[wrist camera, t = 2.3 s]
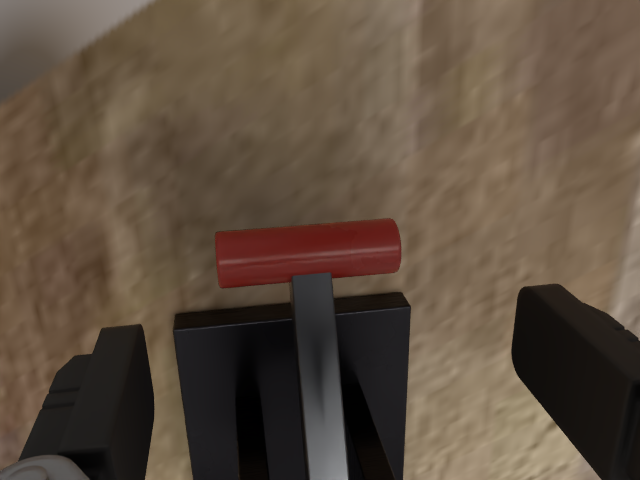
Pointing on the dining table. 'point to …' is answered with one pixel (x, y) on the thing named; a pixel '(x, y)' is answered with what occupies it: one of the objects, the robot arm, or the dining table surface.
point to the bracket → (291, 389)
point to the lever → (312, 311)
